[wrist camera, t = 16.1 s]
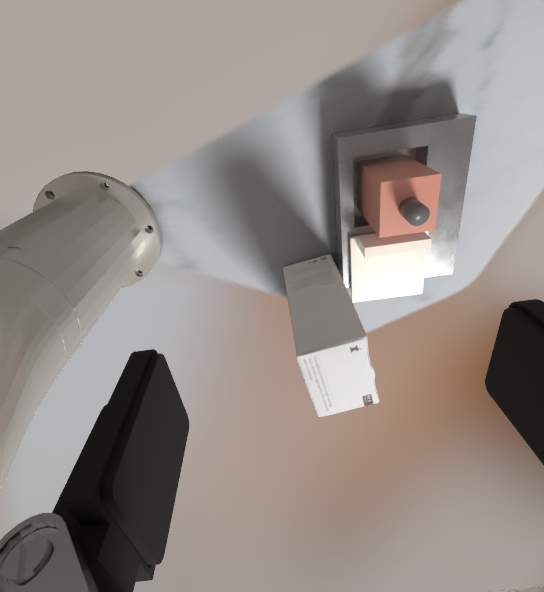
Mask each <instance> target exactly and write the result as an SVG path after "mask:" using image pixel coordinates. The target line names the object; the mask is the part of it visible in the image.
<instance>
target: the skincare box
mask: <svg viewBox="0 0 544 592" xmlns="http://www.w3.org/2000/svg"><path fill="white" fill-rule="evenodd" d="M283 273H284V279H285V285H286V291H287V298H288V304H289V310H290V316H291V322H292V328H293V335H294V341H295V348H296V358H297V361H298V364H299V367H300V370H301V373H302V375H303V379H304V381H305V384H306V387H307V389H308V392H309V395H310V397H311V400H312V403H313V405H314V407H315V410H316V412H317V415H318V417H322V416H326V415H331V414H335V413H339V412H343V411H346V410H351V409H355V408H359V407H363V406H366V405H371V404H375V403H378V402H379V398H378V394H377V389H376V385H375V380H374V379H375V372H374V369H373V368H372V366H371V362H370V356H369V352H368V341H367V336H366V333H365V331H364V329H363V326H362V324H361V322H360V319H359V317H358V315H357V312H356V310H355V308H354V305H353V303H352V301H351V299H350V296H349V294H348V292H347V289H346V287H345V285H344V282H343V280H342V278H341V275H340V273H339V271H338V269H337V266H336V264H335V262H334V260H333V257H332V255H331V254H328V255H324V256H320V257H317V258H314V259H310V260H306V261H302V262H298V263H295V264H291V265H288V266H284V267H283Z"/></svg>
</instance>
